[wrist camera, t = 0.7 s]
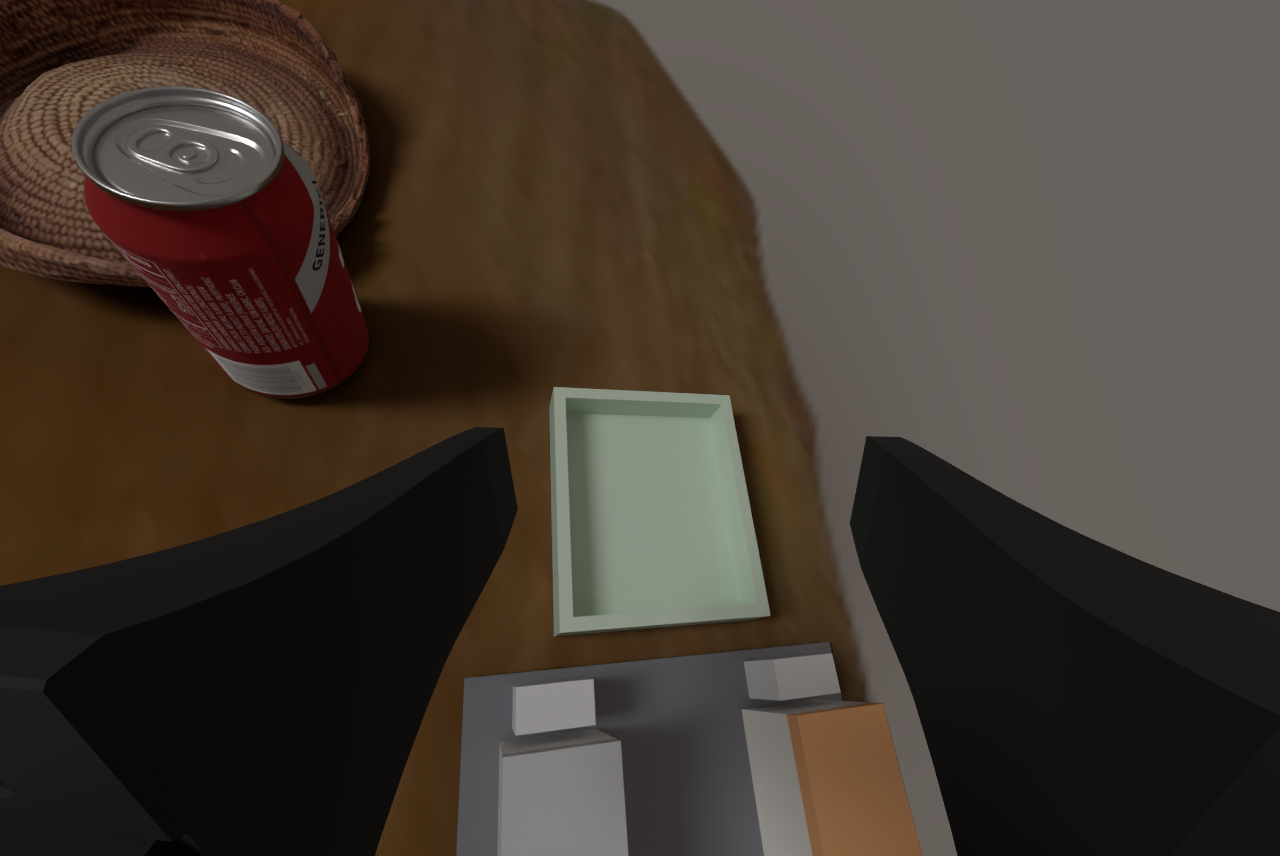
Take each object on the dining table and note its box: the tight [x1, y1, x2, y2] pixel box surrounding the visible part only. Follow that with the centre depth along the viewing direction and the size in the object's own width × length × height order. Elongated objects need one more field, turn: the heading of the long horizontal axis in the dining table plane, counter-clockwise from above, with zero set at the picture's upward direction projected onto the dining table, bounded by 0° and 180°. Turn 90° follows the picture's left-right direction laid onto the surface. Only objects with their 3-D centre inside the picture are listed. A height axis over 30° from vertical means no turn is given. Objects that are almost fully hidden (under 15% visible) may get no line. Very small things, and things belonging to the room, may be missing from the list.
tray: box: [549, 387, 771, 637], centre depth 27 cm, size 12×10×2 cm
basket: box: [0, 0, 370, 287], centre depth 28 cm, size 22×20×5 cm
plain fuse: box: [498, 729, 628, 856], centre depth 18 cm, size 6×4×5 cm, turn 5°
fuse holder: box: [456, 642, 842, 856], centre depth 21 cm, size 11×18×4 cm, turn 95°
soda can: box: [71, 86, 369, 399], centre depth 22 cm, size 7×7×12 cm
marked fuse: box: [742, 699, 922, 856], centre depth 21 cm, size 6×4×5 cm, turn 5°
